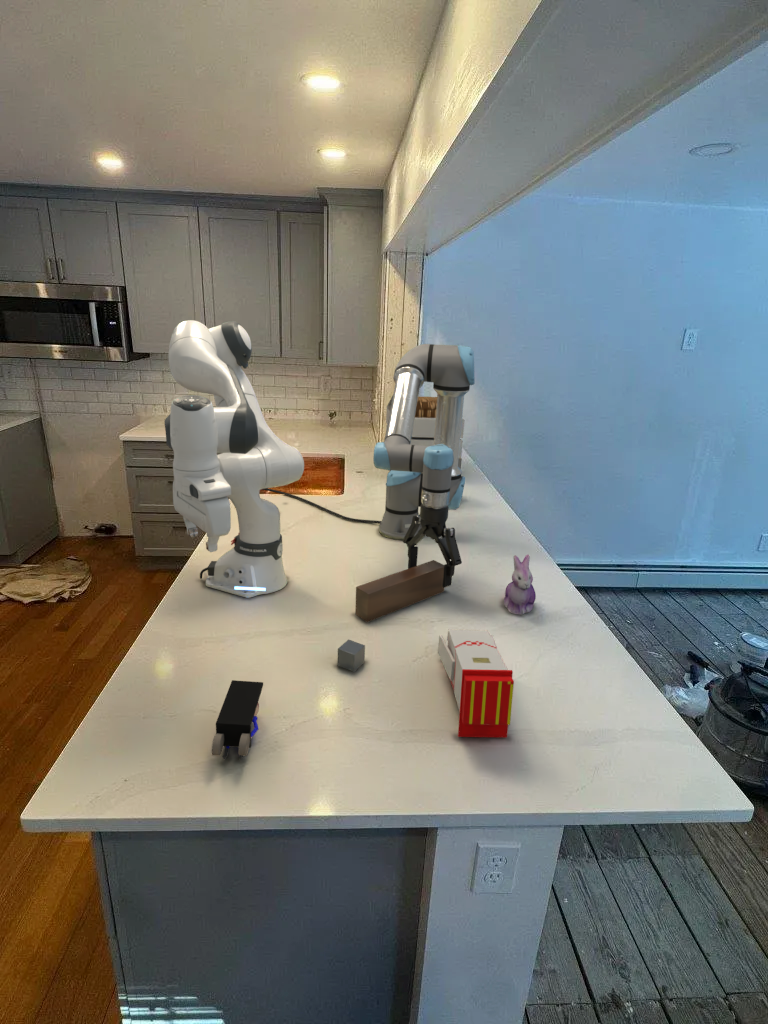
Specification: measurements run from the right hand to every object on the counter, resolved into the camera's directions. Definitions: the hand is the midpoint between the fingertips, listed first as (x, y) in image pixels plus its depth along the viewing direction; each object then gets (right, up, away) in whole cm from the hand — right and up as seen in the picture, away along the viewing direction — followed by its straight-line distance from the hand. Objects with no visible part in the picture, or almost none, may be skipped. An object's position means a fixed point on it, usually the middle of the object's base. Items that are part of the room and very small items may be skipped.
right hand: (429, 577), depth 158 cm
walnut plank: (-8, -6, -4) cm, 11 cm away
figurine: (+24, -8, -4) cm, 26 cm away
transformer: (+5, +37, +117) cm, 123 cm away
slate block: (-20, -16, -32) cm, 40 cm away
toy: (+5, -19, -39) cm, 44 cm away
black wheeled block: (-39, -23, -55) cm, 71 cm away
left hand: (-50, +12, -40) cm, 65 cm away
